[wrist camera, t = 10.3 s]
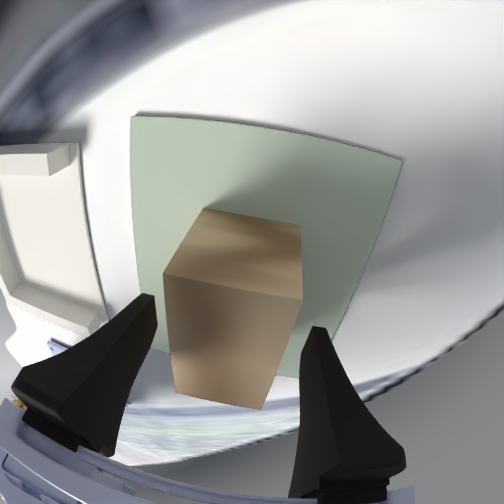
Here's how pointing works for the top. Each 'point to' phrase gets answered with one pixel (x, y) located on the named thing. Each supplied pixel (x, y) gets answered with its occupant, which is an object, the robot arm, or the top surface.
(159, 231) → the stand mat
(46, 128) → the top surface
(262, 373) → the oak block
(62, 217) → the shelf slot
